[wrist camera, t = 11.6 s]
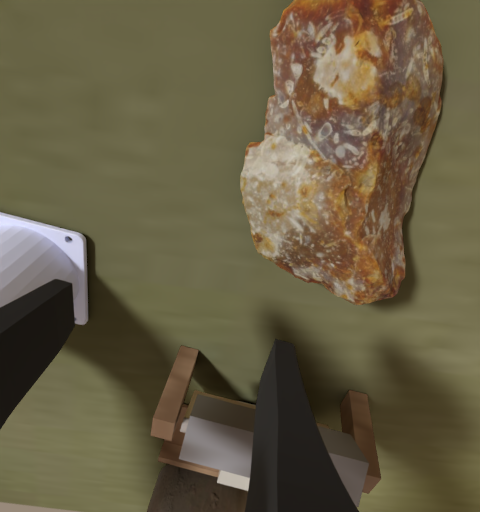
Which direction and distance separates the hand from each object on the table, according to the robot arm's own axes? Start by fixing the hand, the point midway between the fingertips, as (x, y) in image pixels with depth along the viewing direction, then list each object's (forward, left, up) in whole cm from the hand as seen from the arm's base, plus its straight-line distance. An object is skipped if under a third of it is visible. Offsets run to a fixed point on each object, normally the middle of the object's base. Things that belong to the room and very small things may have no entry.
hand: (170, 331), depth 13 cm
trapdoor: (+6, -12, -7) cm, 15 cm away
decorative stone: (+5, +5, -11) cm, 13 cm away
